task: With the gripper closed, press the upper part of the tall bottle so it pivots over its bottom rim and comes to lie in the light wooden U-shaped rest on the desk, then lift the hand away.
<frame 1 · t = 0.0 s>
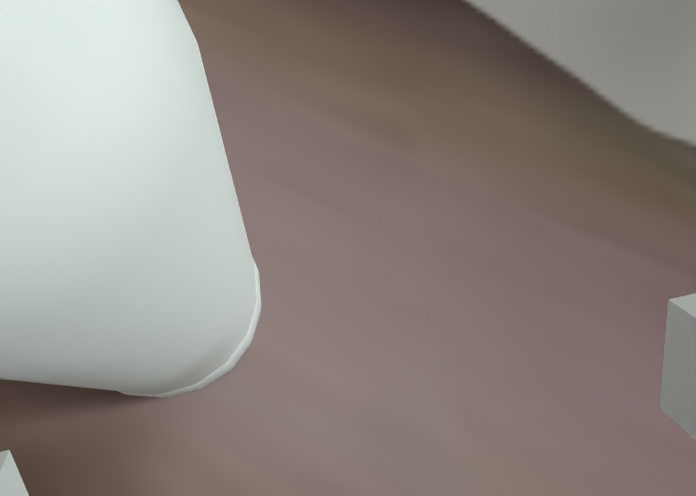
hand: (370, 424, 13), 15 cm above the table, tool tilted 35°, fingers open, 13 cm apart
bottle: (172, 305, 28), on the table
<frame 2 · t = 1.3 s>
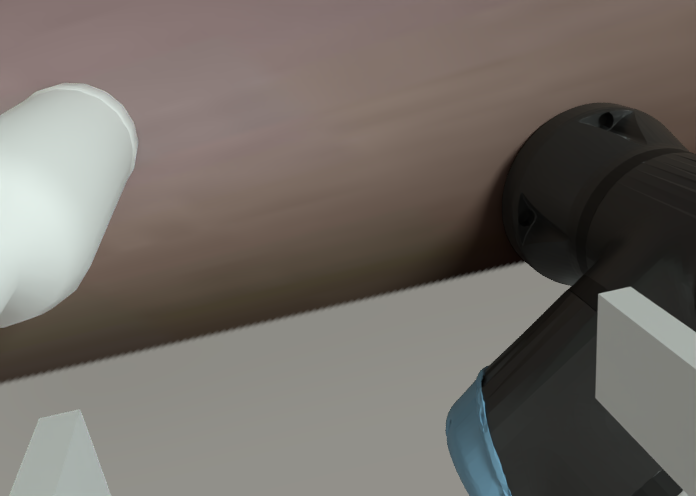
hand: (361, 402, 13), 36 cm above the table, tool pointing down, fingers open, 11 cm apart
bottle: (80, 138, 45), on the table
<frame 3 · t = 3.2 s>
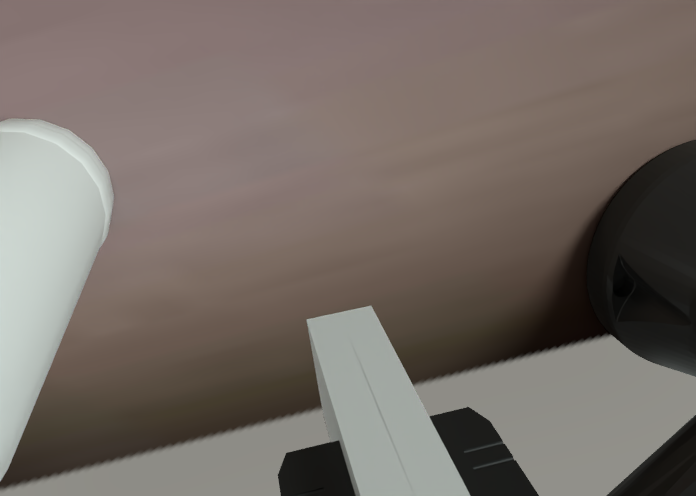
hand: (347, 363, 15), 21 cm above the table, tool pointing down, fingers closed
bottle: (35, 192, 33), on the table
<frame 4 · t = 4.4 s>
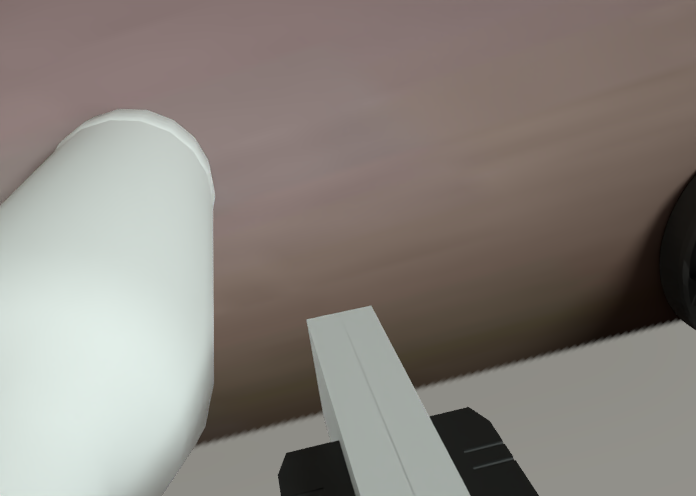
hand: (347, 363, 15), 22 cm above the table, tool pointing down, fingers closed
bottle: (137, 181, 34), on the table
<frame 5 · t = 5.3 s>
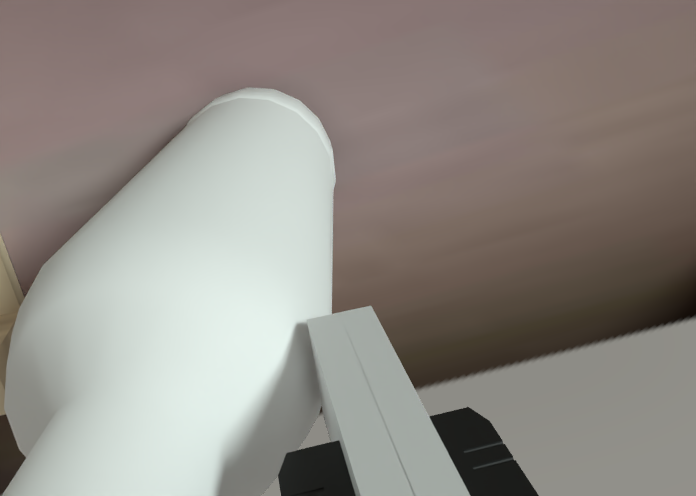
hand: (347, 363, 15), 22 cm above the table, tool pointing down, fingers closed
bottle: (260, 160, 34), on the table, touching gripper
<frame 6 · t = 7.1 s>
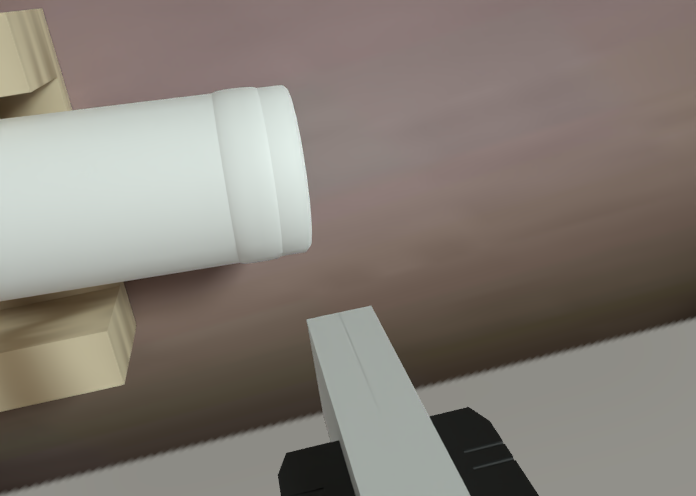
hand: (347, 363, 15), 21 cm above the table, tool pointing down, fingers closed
bottle rest: (13, 197, 33), on the table
bottle: (301, 168, 30), point 5 cm above the table, touching bottle rest
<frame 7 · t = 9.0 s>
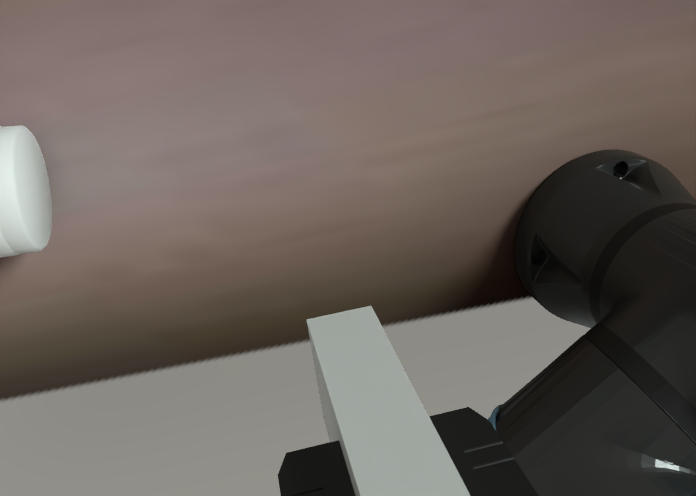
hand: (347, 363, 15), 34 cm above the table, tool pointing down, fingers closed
bottle: (38, 188, 40), point 5 cm above the table, touching bottle rest
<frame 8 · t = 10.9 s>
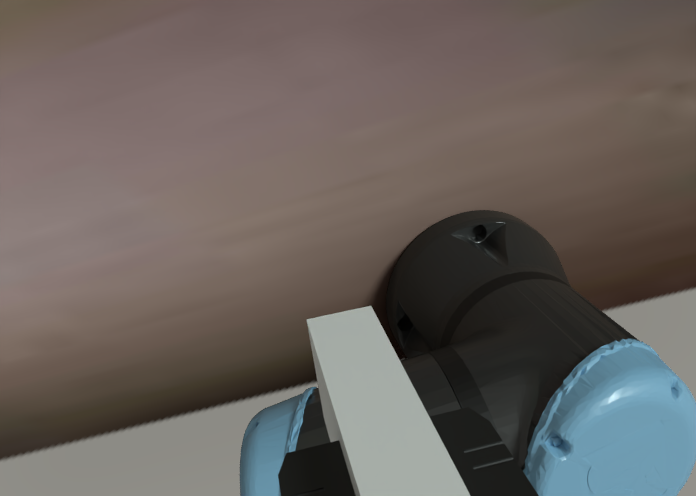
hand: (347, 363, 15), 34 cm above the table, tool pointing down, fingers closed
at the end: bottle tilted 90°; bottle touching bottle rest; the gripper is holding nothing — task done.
